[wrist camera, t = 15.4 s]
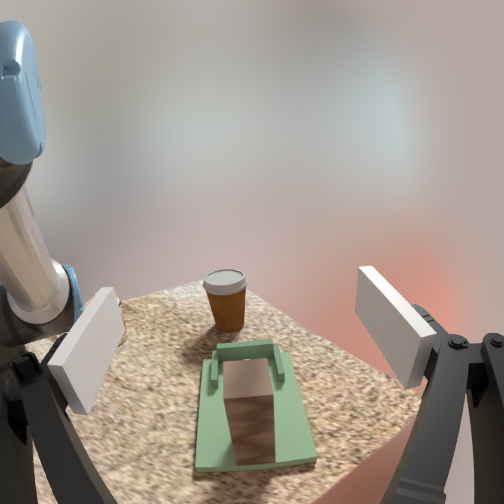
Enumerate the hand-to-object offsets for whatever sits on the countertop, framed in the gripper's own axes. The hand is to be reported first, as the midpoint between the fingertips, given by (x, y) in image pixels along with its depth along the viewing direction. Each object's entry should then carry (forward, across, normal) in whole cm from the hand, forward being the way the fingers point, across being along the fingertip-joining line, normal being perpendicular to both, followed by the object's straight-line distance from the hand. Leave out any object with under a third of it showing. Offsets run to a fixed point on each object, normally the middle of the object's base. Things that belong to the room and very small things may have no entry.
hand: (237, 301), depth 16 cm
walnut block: (+10, 0, -29) cm, 31 cm away
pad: (+20, 0, -31) cm, 37 cm away
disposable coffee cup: (+46, -3, -32) cm, 55 cm away
